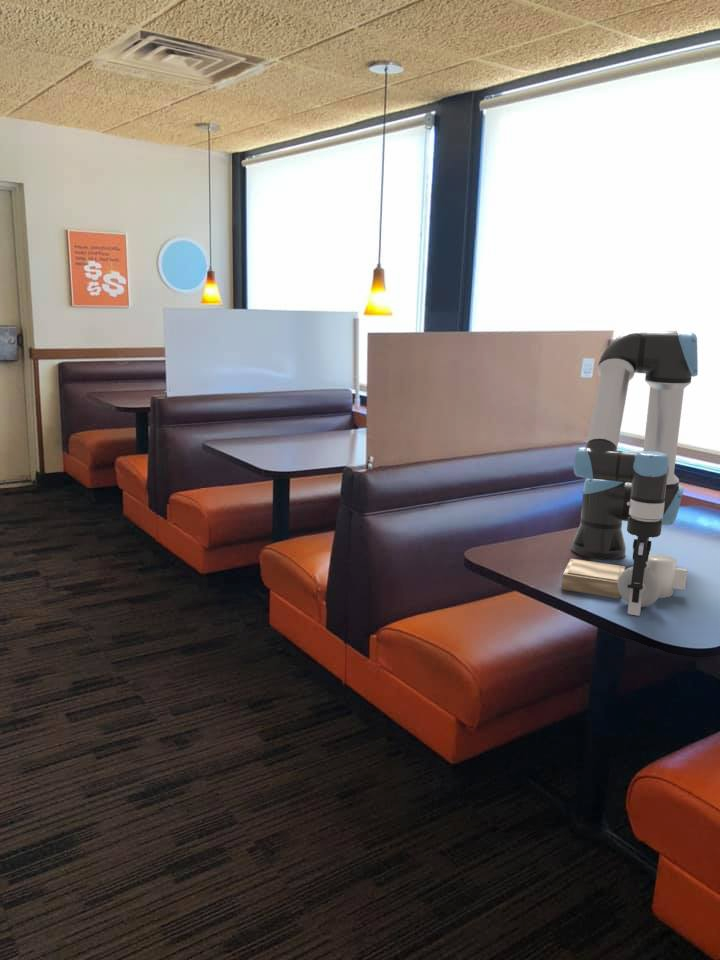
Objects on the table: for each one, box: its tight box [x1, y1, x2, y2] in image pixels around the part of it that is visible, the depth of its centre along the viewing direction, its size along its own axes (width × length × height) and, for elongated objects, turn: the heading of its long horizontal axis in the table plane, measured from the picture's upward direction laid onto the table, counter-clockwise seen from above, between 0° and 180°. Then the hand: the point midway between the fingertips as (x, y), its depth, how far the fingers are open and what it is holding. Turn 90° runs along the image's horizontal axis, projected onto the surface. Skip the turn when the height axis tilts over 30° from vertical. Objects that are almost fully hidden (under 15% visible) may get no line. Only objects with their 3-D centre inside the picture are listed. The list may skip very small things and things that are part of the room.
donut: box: [617, 566, 661, 608], centre depth 182 cm, size 10×4×10 cm, turn 56°
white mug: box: [644, 552, 688, 599], centre depth 192 cm, size 8×11×9 cm
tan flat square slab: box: [561, 558, 626, 599], centre depth 197 cm, size 14×14×4 cm
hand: (635, 606), depth 183 cm, fingers open, 11 cm apart
